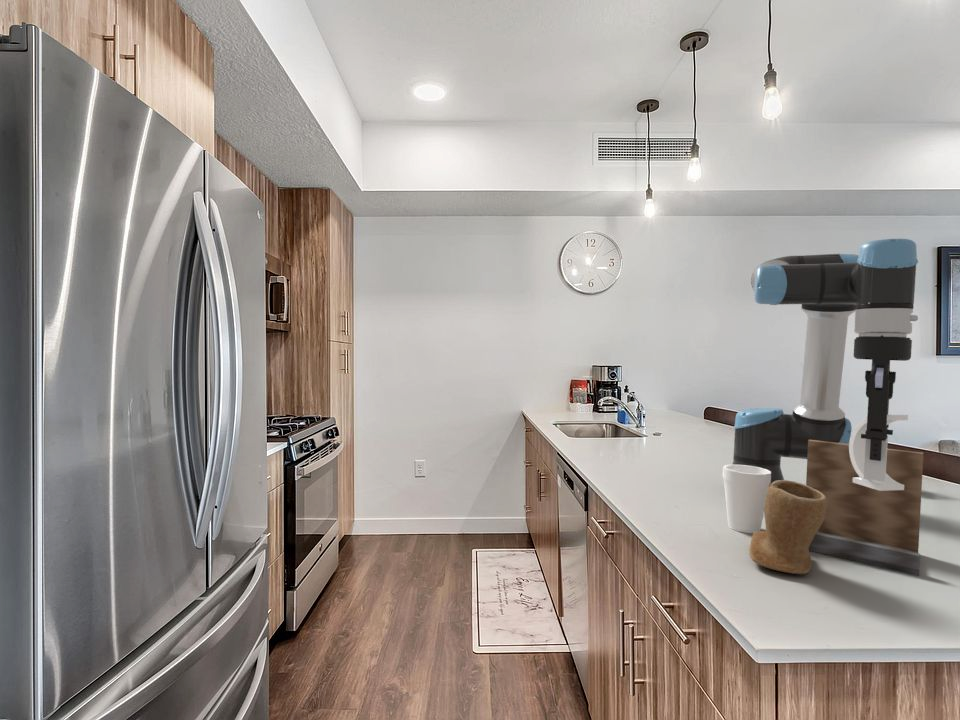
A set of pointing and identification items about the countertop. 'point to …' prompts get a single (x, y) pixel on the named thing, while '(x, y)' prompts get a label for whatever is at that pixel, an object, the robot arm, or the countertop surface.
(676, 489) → the countertop surface
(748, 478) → the foam cup
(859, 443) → the white curved saddle bracket
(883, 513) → the board
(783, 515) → the tan suede boot
